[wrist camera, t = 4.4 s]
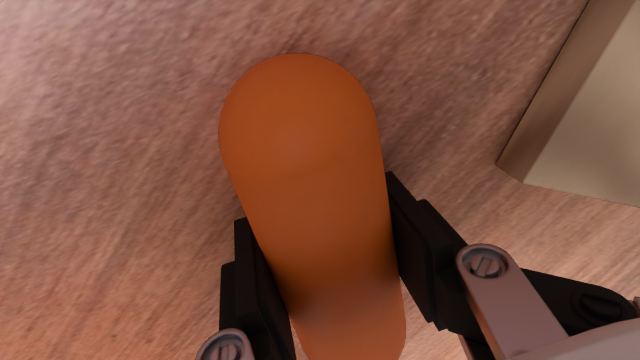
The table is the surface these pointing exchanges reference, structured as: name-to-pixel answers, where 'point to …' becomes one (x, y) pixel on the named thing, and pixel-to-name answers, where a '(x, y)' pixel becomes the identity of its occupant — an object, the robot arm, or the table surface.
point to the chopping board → (586, 112)
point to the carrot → (317, 202)
